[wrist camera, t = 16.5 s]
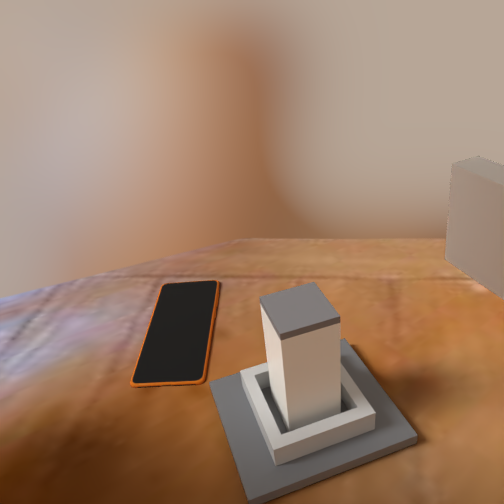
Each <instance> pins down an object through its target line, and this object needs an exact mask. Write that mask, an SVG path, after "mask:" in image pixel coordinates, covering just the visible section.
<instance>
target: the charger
mask: <svg viewBox="0 0 504 504" xmlns="http://www.w3.org/2000/svg"><path fill="white" fill-rule="evenodd" d="M260 305H261V313H262V321H263V329H264V338H265V346H266V354H267V362H268V370H269V379H270V387H271V395H272V397H273V399H274V402H275V404H276V406H277V408H278V411H279V413H280V415H281V417H282V419H283V422H284V424H285V426H286V428H287V431H288V432H290V431H293V430H296V429H299V428H301V427H304V426H307V425H310V424H312V423H315V422H318V421H321V420H324V419H326V418H329V417H332V416H335V415H337V414H340V413H341V370H340V315H339V314H338V313H337V311H336V310H335V309H334V307H333V306H332V305H331V303H330V302H329V301H328V299H327V298H326V297H325V296H324V294H323V293H322V292H321V290H320V289H319V288H318V286H317V285H316V284H315V282H312V283H308V284H304V285H301V286H297V287H294V288H290V289H286V290H283V291H279V292H276V293H272V294H269V295H265V296H261V297H260Z"/></svg>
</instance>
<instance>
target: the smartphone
mask: <svg viewBox="0 0 504 504" xmlns="http://www.w3.org/2000/svg"><path fill="white" fill-rule="evenodd" d="M219 285H220V283H219V281H217V280H208V281H193V282H178V283H166V284H163V285H162V286H161V289H160V292H159V295H158V298H157V301H156V304H155V307H154V310H153V313H152V316H151V319H150V323H149V326H148V329H147V332H146V335H145V338H144V341H143V344H142V347H141V350H140V353H139V356H138V360H137V363H136V366H135V369H134V372H133V375H132V378H131V381H130V385H131V387H133V388H142V387H161V385H162V386H165V385H172V386H182V385H199V384H202V383H203V382H204V381H205V378H206V372H207V365H208V358H209V352H210V345H211V338H212V332H213V325H214V320H215V319H216V308H217V305H218V298H219Z"/></svg>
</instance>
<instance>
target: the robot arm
mask: <svg viewBox="0 0 504 504" xmlns="http://www.w3.org/2000/svg"><path fill="white" fill-rule="evenodd" d="M445 260H447V261H448V262H449V263H451V264H452V265H454V266H455V267H457V268H458V269H460V270H461V271H463V272H464V273H465V274H467V275H468V276H470V277H471V278H473V279H474V280H476V281H477V282H479V283H480V284H481V285H483V286H484V287H486V288H487V289H489V290H490V291H492V292H493V293H495V294H496V295H497V296H499V297H500V298H502V299H503V300H504V165H501V164H499V163H496V162H494V161H491V160H488V159H486V158H483V157H480V156H476V157H473V158H469V159H466V160H463V161H459V162H456V163H453V164H452V170H451V183H450V197H449V210H448V223H447V237H446V249H445Z"/></svg>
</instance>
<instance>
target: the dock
mask: <svg viewBox="0 0 504 504" xmlns="http://www.w3.org/2000/svg"><path fill="white" fill-rule="evenodd" d="M340 370H341V413H340V414H337V415H335V416H332V417H329V418H326V419H324V420H321V421H318V422H315V423H312V424H310V425H307V426H304V427H301V428H299V429H296V430H293V431H290V432H288V431H287V428H286V426H285V424H284V422H283V419H282V417H281V415H280V413H279V411H278V408H277V406H276V404H275V402H274V399H273V397H272V395H271V387H270V379H269V370H268V362H266V363H263V364H260V365H257V366H254V367H251V368H248V369H245V370H242V371H240V372H239V373H236V374H233V375H230V376H227V377H224V378H221V379H218V380H214V381H211V382H209V384H210V389H211V392H212V395H213V398H214V401H215V404H216V407H217V410H218V413H219V416H220V419H221V422H222V425H223V428H224V431H225V434H226V437H227V440H228V443H229V446H230V449H231V452H232V455H233V458H234V461H235V464H236V467H237V470H238V473H239V476H240V479H241V482H242V485H243V488H244V491H245V494H246V497H247V500H248V503H249V504H262V503H265V502H267V501H270V500H272V499H275V498H277V497H280V496H283V495H285V494H288V493H290V492H293V491H295V490H298V489H301V488H303V487H306V486H308V485H311V484H313V483H316V482H318V481H321V480H324V479H326V478H329V477H331V476H334V475H336V474H339V473H341V472H344V471H347V470H349V469H352V468H354V467H357V466H359V465H362V464H365V463H367V462H370V461H372V460H375V459H377V458H380V457H382V456H385V455H388V454H390V453H393V452H395V451H398V450H400V449H403V448H405V447H408V446H411V445H413V444H416V443H417V437H418V435H417V433H416V432H415V431H414V429H413V428H412V427H411V425H410V424H409V423H408V421H407V420H406V419H405V418H404V416H403V415H402V414H401V412H400V411H399V410H398V408H397V407H396V406H395V404H394V403H393V402H392V400H391V399H390V398H389V396H388V395H387V394H386V392H385V391H384V390H383V388H382V387H381V386H380V384H379V383H378V382H377V380H376V379H375V378H374V376H373V375H372V374H371V373H370V371H369V370H368V369H367V367H366V366H365V365H364V363H363V362H362V361H361V359H360V358H359V357H358V355H357V354H356V353H355V351H354V350H353V349H352V347H351V346H350V345H349V343H348V342H347V341H346V339H345V338H344V339H341V340H340Z"/></svg>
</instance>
